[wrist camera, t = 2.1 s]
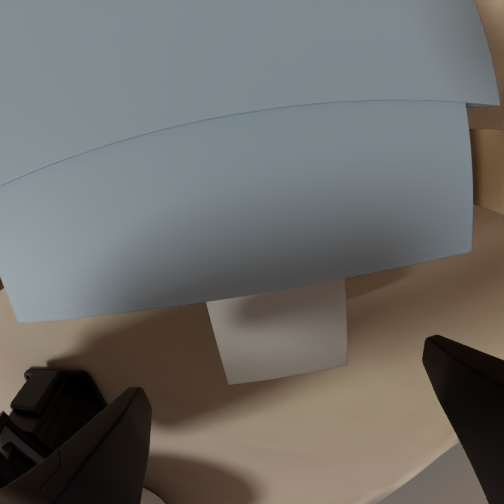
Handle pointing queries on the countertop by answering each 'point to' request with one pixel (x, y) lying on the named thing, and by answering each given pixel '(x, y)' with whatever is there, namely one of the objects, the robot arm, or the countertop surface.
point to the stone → (281, 332)
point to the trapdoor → (230, 146)
